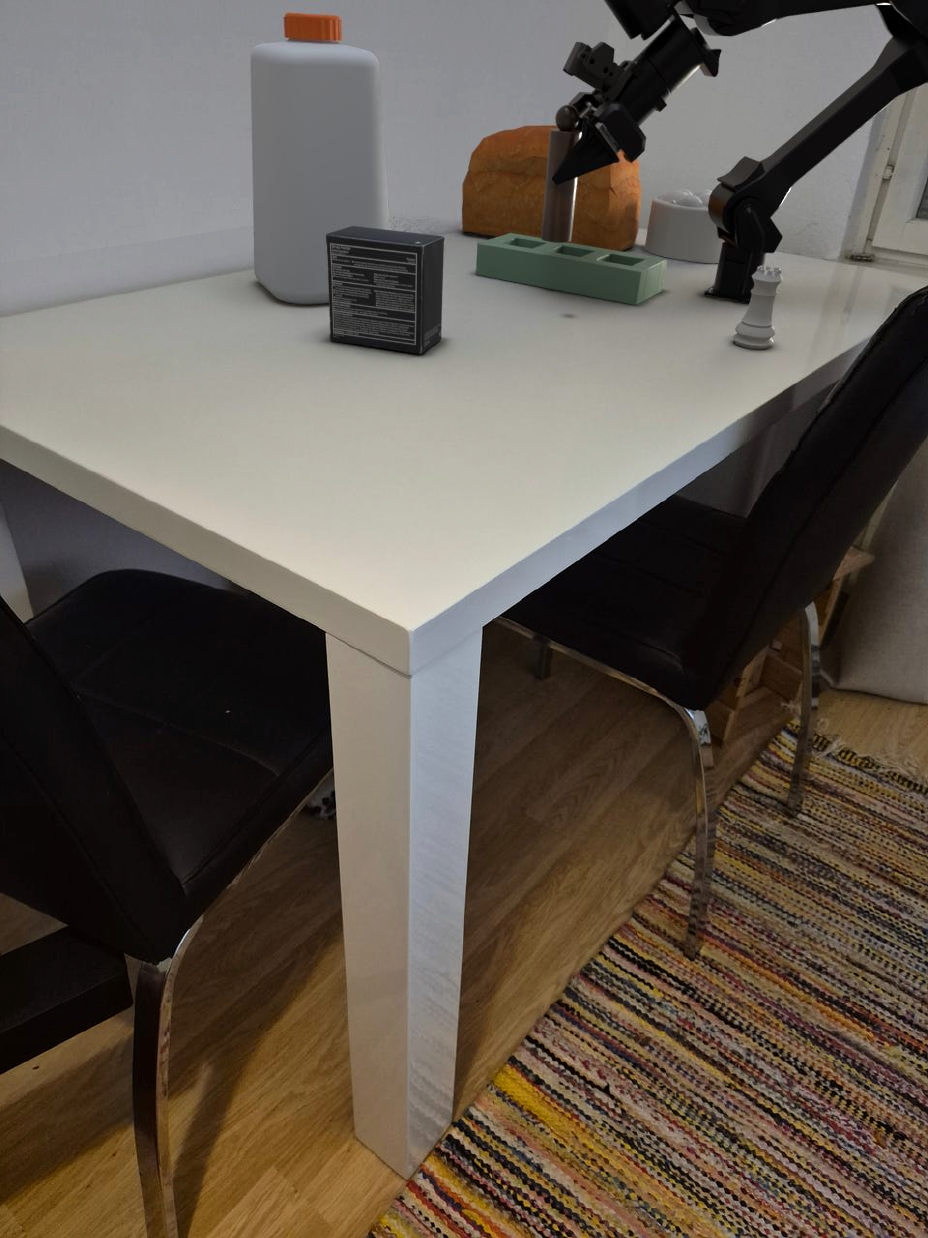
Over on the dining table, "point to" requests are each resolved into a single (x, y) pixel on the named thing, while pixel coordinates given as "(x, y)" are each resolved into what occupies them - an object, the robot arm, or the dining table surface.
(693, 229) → the lumpy-topped squat cylinder
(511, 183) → the bread
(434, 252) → the small box
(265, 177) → the plastic bottle
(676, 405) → the dining table surface
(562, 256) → the green three-slot holder
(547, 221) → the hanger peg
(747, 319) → the rook chess piece
